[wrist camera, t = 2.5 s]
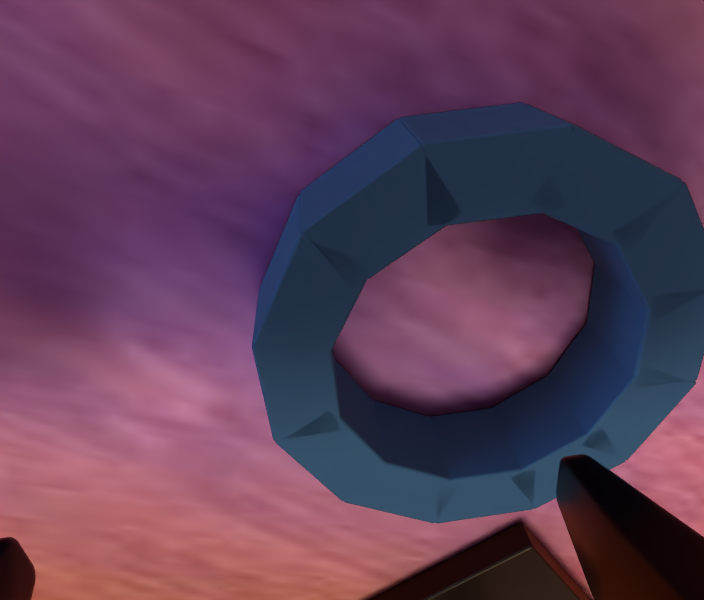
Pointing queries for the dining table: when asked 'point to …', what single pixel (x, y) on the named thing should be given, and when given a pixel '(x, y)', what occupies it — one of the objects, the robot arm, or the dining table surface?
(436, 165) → the blue ring
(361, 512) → the dining table surface
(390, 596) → the peg stand
